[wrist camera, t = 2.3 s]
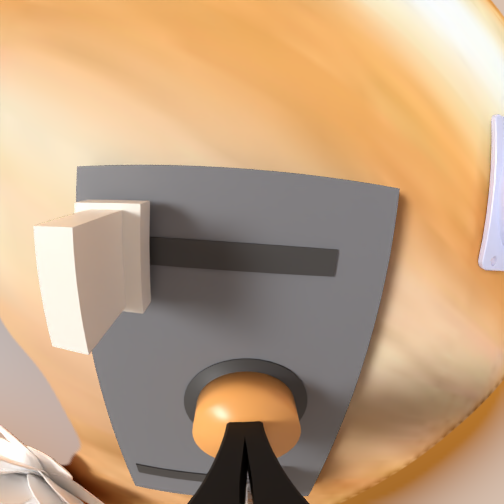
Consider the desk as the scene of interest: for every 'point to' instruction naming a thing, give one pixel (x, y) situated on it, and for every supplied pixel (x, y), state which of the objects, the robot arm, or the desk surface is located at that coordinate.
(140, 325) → the panel
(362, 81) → the desk surface
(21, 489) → the lotus flower
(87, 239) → the toggle lever
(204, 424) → the push button
